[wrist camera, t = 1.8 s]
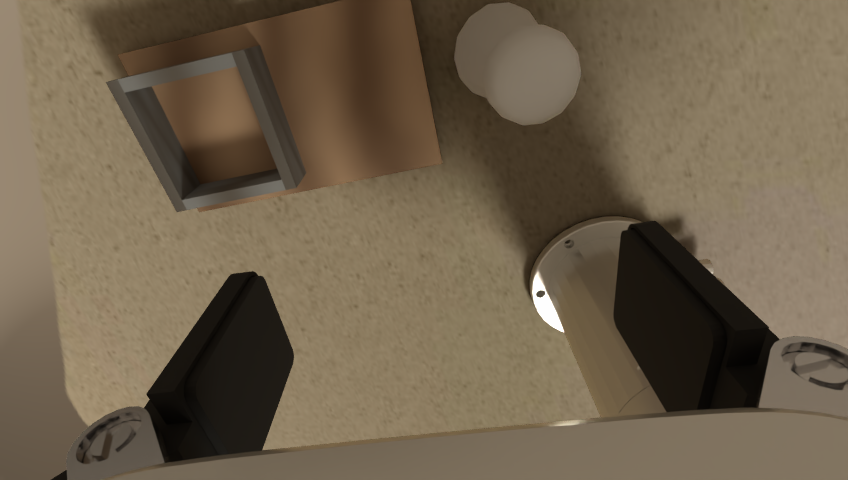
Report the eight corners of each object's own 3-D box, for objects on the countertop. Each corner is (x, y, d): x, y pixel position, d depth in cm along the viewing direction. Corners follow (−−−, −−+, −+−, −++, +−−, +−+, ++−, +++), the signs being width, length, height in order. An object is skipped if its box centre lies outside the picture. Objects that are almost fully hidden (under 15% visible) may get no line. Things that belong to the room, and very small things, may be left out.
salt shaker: (460, -5, 28) (486, -7, 17) (544, 8, 29) (625, 14, 17) (446, 87, 31) (460, 138, 20) (523, 97, 31) (580, 153, 20)
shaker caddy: (407, -16, 28) (405, -18, 24) (441, 158, 34) (444, 177, 30) (128, 52, 30) (87, 60, 26) (205, 205, 36) (180, 229, 32)
